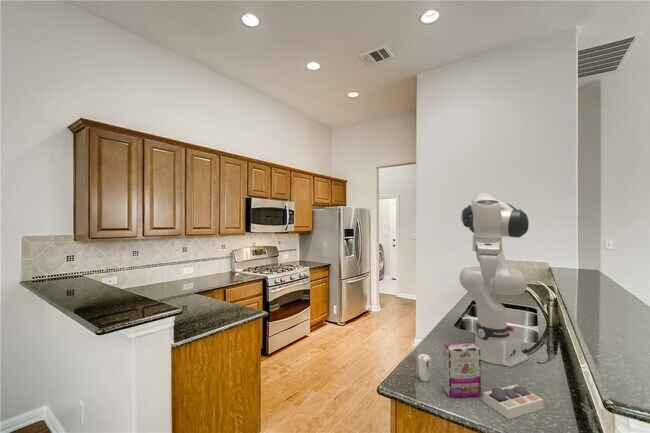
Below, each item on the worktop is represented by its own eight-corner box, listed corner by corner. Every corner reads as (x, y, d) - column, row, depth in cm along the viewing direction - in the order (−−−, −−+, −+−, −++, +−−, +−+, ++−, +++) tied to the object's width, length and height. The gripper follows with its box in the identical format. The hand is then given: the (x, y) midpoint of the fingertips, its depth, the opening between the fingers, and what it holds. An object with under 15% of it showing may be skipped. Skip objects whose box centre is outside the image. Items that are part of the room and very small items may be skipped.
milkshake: (415, 381, 109) (415, 354, 109) (419, 374, 113) (419, 348, 113) (428, 385, 106) (428, 357, 106) (431, 378, 111) (432, 352, 111)
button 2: (519, 394, 100) (519, 385, 100) (530, 400, 97) (530, 391, 97) (511, 396, 99) (511, 387, 99) (522, 402, 95) (522, 393, 95)
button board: (516, 393, 102) (516, 383, 102) (543, 409, 93) (543, 398, 93) (483, 401, 97) (483, 391, 97) (508, 419, 89) (508, 408, 89)
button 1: (497, 395, 97) (497, 386, 97) (508, 402, 93) (508, 393, 93) (488, 397, 96) (488, 388, 96) (499, 404, 92) (499, 395, 92)
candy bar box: (472, 388, 104) (473, 342, 105) (481, 397, 99) (481, 348, 100) (442, 389, 104) (442, 343, 104) (449, 398, 99) (449, 349, 99)
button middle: (508, 396, 99) (508, 387, 99) (519, 403, 95) (519, 394, 95) (500, 398, 97) (500, 389, 97) (510, 405, 94) (510, 396, 94)
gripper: (476, 243, 112) (476, 280, 112) (477, 248, 94) (477, 291, 94) (495, 244, 109) (495, 281, 109) (500, 249, 91) (500, 294, 91)
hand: (486, 286), depth 101 cm, fingers closed
